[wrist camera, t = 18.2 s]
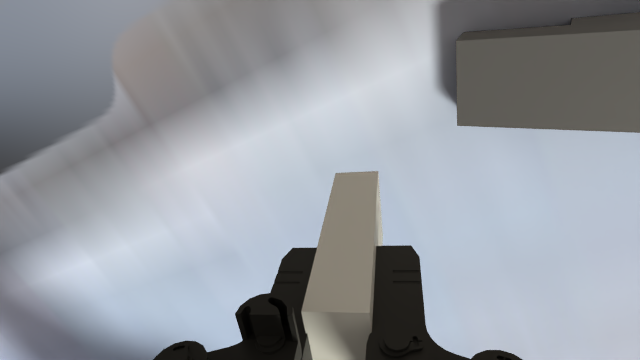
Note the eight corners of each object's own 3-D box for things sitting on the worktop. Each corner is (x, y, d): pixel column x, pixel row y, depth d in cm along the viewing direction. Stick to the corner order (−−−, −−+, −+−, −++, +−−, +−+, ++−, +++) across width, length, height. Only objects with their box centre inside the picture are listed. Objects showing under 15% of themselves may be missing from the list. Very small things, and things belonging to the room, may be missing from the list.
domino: (457, 125, 25) (668, 133, 20) (456, 40, 23) (695, 26, 18) (464, 113, 27) (664, 117, 22) (464, 32, 24) (687, 16, 19)
